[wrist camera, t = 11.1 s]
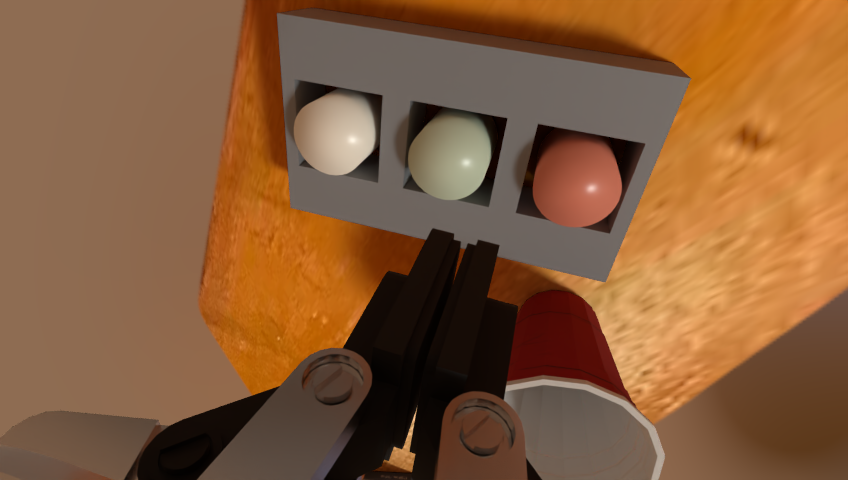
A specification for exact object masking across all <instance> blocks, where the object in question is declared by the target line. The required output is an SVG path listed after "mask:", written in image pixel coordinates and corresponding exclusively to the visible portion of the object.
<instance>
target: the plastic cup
mask: <svg viewBox="0 0 848 480" xmlns="http://www.w3.org/2000/svg"><path fill="white" fill-rule="evenodd" d="M504 401H505V402H507V403H508V404H509V405H510V406H511V407H512V408H513V409H514V410H515V411H516V413H517V415H518V417H519V418H520V420H521V422H522V426H523V430H524V434H525V450H526V458H527V459H528V461H529V462H530V464H531V465H532V466H533V468H534V469H535V470H536V472H537V473H538V475H539V476H540V477H541V479H542V480H658V479H659V476H660V472H661V468H662V465H663V462H664V458H665V454H664V452H663V449H662V446H661V443H660V440H659V438H658V435H657V432H656V429H655V427H654V425H653V424H652V423H651V421H650V420H649V419H648V418H646V417H645V416H644V415H643V414H642V413H641V412H640V411H639V410H638V409H637V408H636V406H635V404H634V403H633V402H632V401H631V398H630V396H629V394H628V392H627V390H625V388H624V386H623V383H622V380H621V378H620V375H619V372H618V370H617V367H616V365H615V362H614V359H613V357H612V354H611V352H610V349H609V346H608V344H607V341H606V338H605V336H604V334H603V333H602V330H601V327H600V324H599V322H598V319H597V316H596V314H595V312H594V311H593V309H592V307H591V306H590V305H589V304H588V303H587V302H586V301H585V300H584V299H583V298H581V297H579V296H577V295H574V294H572V293H570V292H566V291H556V290H550V291H545V292H541V293H537V294H536V295H534V296H532V297H531V298H529V299H528V300H526V302H525V303H524V305H523V306H522V308H521V309H520V311H519V312H518V314H517V319H516V325H515V332H514V338H513V345H512V351H511V358H510V364H509V371H508V377H507V384H506V391H505V397H504Z"/></svg>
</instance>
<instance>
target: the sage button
mask: <svg viewBox="0 0 848 480" xmlns="http://www.w3.org/2000/svg"><path fill="white" fill-rule="evenodd" d="M497 139H498V134H497V128H496V125H495V122H494V120H493V119H492V117H491V116H490V115H487V114H482V113H477V112H471V111H466V110H460V109H455V108H449V107H443V108H442V109H441V110H439V111H438V113H437V114H436V115H435V116H434V117H433V118H432V119H431V121H430V122H429V123H428V124H427V125H426V126H425V127H424V128H423V130H422V131H421V132H420V133H419V134H418V135H417V136H416V138H415V139H414V141H413V142H412V144H411V146H410V149H409V154H408V165H409V169H410V172H411V175H412V177H413V179H414V180H415V182H416V183H417V185H418V186H419V187H420V188H421V189H422V190H423V191H425V192H426V193H428V194H429V195H431V196H433V197H436V198H439V199H443V200H457V199H461V198H464V197H467V196H468V195H470V194H472V193H473V192H474V191H475V190H476V189H477V188H478V187H479V186H480V185H481V183H482V181H483V179H484V177H485V174H486V171H487V169H488V166H489V164H490V161H491V158H492V156H493V153H494V151H495V148H496V145H497Z"/></svg>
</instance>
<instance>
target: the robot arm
mask: <svg viewBox="0 0 848 480" xmlns="http://www.w3.org/2000/svg"><path fill="white" fill-rule="evenodd" d="M499 246H500V245H498V244H494V243H490V242H486V241H482V240H478V241H477V244H476V245H474V244H470V243H468V244H467V247H466V249H465V252H464V255H463V258H462V261H461V263H460V266H459V269H458V272H457V275H456V277H455V280H454V276H455V272H456V267H457V262H458V257H459V252H460V247H461V241H458V240H454V233H450V232H446V231H443V230H439V229H435V228H432V230H431V231H430V233H429V235H428V237H427V239H426V241H425V243H424V245H423V247H422V249H421V251H420V253H419V255H418V257H417V259H416V261H415V263H414V265H413V267H412V269H411V271H410V273H409V275H408V276H407V275H403V274H399V273H396V272H392V271H388V272H387V273H386V274H385V276H384V277H383V279H382V281H381V283H380V284H379V286H378V288H377V290H376V291H375V293H374V295H373V297H372V298H371V300H370V302H369V304H368V305H367V307H366V309H365V310H364V312H363V314H362V316H361V317H360V319H359V321H358V323H357V324H356V326H355V328H354V330H353V331H352V333H351V335H350V337H349V338H348V340H347V342H346V344H345V345H344V347H343V348H329V349H324V350H320V351H318V352H316V353H314V354H311V355H309V356H308V357H307V358H306V359H305V360H304V361H302V362H301V363H300V364H299V365H298V367H297V368H296V369H295V370H294V371H293V372H292V373H291V374H290V376H289V377H288V378H287V379H286V380H285V381H284V382H283V383H282V385H281V386H279V387H276V388H273V389H270V390H267V391H264V392H261V393H258V394H256V395H253V396H250V397H247V398H244V399H241V400H238V401H235V402H233V403H230V404H227V405H224V406H221V407H218V408H215V409H212V410H209V411H206V412H204V413H201V414H198V415H195V416H192V417H189V418H186V419H183V420H181V421H179V422H177V423H175V424H173V425H170V426H164V425H160V423H159V420H153V419H143V418H132V417H122V416H111V415H101V414H90V413H79V412H69V411H50V412H44V413H40V414H38V415H35V416H31V417H29V418H27V419H25V420H23V421H22V422H20V423H18V424H17V425H15V426H13V427H12V428H11V429H10V430H9V431H7V432H6V433H5V434H4V435H3V436H2V437H1V438H0V480H363V478H364V475H365V474H366V473H368V472H370V471H373V470H375V469H377V468H379V467H381V466H382V463H383V461H384V460H387V461H389V459H390V456H391V453H392V450H393V448H394V447H397V448H400V449H402V448H403V446H404V444H405V441H406V438H407V435H408V432H409V429H410V426H411V423H412V420H413V417H414V414H415V411H416V408H417V412H416V418H415V423H414V429H413V435H412V440H411V446H410V452H412V453H415V454H416V455H415V460H414V465H413V470H412V475H411V477H412V479H413V480H542V479H541V477H540V476H539V475H538V473H537V472H536V470H535V469H534V468H533V466H532V465H531V464H530V462H529V461H528V459H527V458H526V450H525V434H524V430H523V426H522V422H521V420H520V418H519V417H518V415H517V413H516V411H515V410H514V409H513V408H512V407H511V406H510V405H509V404H508V403H507V402H505V401H504V397H505V391H506V384H507V377H508V371H509V364H510V358H511V351H512V345H513V338H514V332H515V325H516V319H517V312H518V306H516V305H513V304H509V303H505V302H502V301H498V300H494V299H491V298H487V295H488V291H489V287H490V283H491V279H492V275H493V271H494V267H495V262H496V258H497V254H498V250H499ZM453 281H454V283H453Z"/></svg>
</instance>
